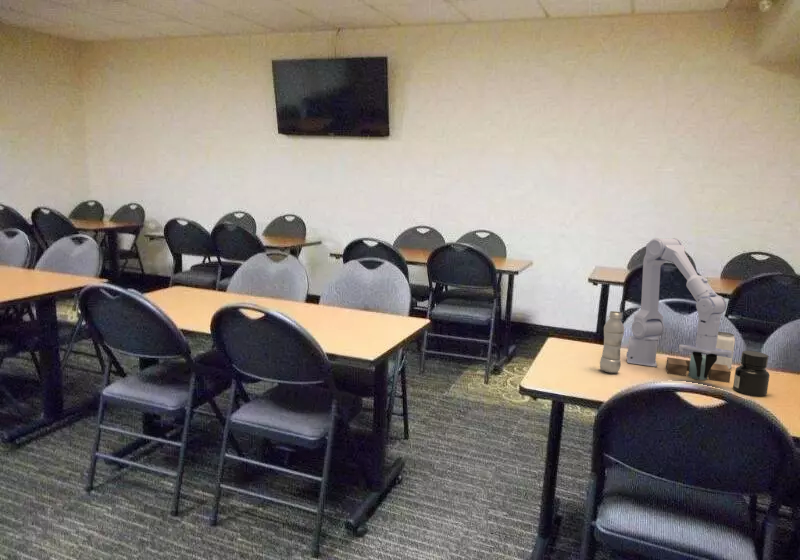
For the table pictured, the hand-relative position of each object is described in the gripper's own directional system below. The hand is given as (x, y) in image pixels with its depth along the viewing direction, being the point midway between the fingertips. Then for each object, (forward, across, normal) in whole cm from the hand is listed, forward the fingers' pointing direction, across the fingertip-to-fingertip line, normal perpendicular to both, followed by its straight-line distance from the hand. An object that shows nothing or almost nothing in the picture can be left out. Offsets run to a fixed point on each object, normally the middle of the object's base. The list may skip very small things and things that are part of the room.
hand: (701, 376), depth 179 cm
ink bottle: (+3, +13, -1) cm, 14 cm away
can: (+3, +9, +25) cm, 27 cm away
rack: (+2, 0, +10) cm, 10 cm away
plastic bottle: (+3, -27, -2) cm, 27 cm away
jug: (+2, 0, +5) cm, 6 cm away
